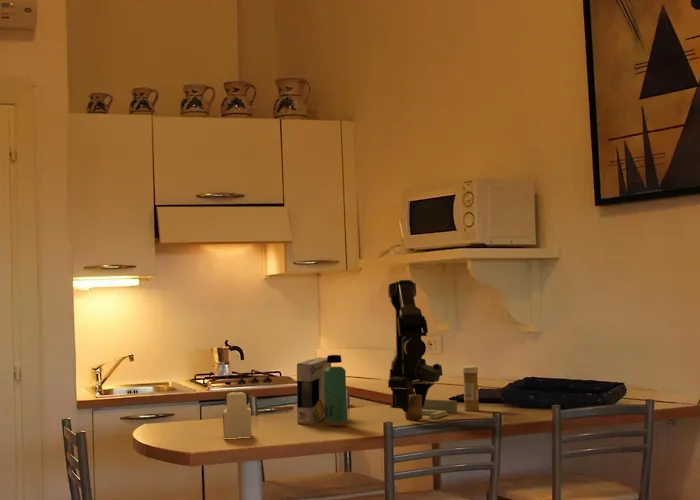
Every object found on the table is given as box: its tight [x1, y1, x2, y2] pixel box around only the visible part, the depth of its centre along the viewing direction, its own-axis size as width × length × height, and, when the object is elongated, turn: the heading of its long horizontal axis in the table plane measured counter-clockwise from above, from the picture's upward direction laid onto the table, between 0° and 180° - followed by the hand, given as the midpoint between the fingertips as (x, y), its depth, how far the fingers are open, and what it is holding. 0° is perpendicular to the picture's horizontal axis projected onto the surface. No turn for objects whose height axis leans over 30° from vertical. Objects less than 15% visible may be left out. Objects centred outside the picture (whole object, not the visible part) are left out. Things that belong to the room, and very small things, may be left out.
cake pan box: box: [296, 356, 332, 425], centre depth 284 cm, size 19×5×18 cm, turn 162°
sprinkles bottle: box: [462, 365, 480, 412], centre depth 295 cm, size 5×5×13 cm
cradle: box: [404, 409, 448, 419], centre depth 285 cm, size 10×8×1 cm
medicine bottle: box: [222, 390, 253, 439], centre depth 256 cm, size 7×7×12 cm
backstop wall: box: [422, 399, 458, 414], centre depth 293 cm, size 11×1×4 cm, turn 57°
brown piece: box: [405, 394, 423, 421], centre depth 279 cm, size 5×5×7 cm
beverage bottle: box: [324, 354, 349, 424], centre depth 270 cm, size 6×7×20 cm
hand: (413, 409), depth 279 cm, fingers open, 9 cm apart
